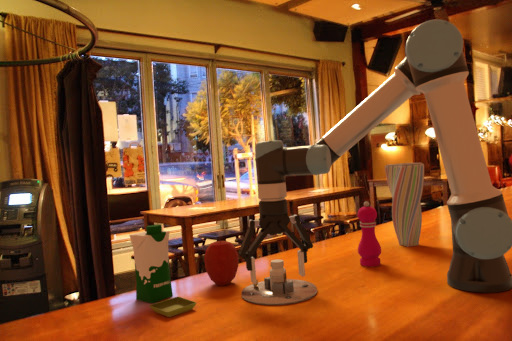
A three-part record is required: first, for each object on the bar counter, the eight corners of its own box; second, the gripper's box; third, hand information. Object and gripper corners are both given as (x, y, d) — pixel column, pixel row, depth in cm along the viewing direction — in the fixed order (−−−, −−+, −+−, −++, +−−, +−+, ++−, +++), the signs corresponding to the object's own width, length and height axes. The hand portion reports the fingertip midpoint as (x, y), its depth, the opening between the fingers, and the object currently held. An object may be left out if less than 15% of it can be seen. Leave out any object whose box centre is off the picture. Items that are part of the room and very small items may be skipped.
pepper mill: (383, 266, 139) (379, 202, 138) (359, 267, 140) (354, 203, 140) (381, 261, 146) (377, 199, 145) (358, 261, 147) (354, 200, 147)
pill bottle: (289, 290, 119) (287, 261, 119) (273, 293, 118) (271, 263, 117) (284, 286, 123) (282, 258, 123) (268, 288, 122) (266, 260, 122)
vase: (436, 245, 163) (431, 162, 162) (406, 250, 158) (401, 165, 157) (410, 239, 176) (406, 162, 175) (382, 244, 171) (377, 165, 170)
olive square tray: (149, 313, 112) (148, 305, 112) (178, 303, 118) (178, 295, 118) (167, 321, 106) (166, 312, 106) (198, 310, 112) (197, 302, 112)
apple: (246, 284, 131) (243, 236, 130) (214, 291, 126) (211, 241, 125) (231, 277, 140) (227, 232, 139) (200, 283, 135) (197, 237, 134)
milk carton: (151, 305, 117) (145, 228, 117) (131, 300, 123) (125, 227, 122) (177, 295, 124) (172, 223, 124) (156, 291, 130) (151, 222, 129)
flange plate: (329, 297, 113) (328, 283, 113) (252, 310, 108) (251, 295, 108) (300, 278, 133) (300, 266, 133) (234, 288, 127) (233, 275, 127)
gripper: (311, 194, 126) (316, 269, 127) (223, 202, 120) (229, 281, 121) (321, 195, 119) (327, 275, 120) (229, 205, 113) (235, 289, 113)
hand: (278, 278), depth 120 cm, fingers open, 13 cm apart
